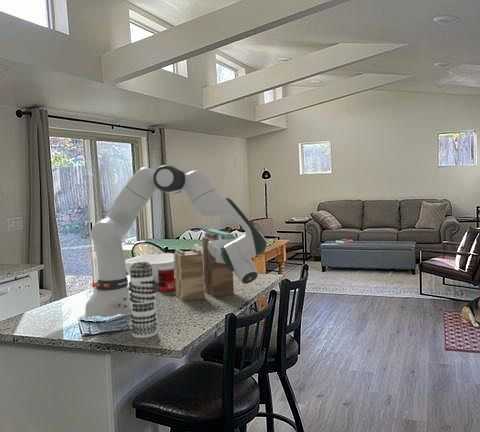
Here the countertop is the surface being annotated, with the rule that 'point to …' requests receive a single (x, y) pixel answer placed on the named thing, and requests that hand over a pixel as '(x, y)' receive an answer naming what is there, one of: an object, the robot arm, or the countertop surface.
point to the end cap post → (215, 272)
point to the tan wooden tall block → (189, 274)
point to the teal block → (217, 233)
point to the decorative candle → (142, 300)
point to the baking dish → (153, 263)
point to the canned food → (166, 279)
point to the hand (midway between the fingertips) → (225, 235)
